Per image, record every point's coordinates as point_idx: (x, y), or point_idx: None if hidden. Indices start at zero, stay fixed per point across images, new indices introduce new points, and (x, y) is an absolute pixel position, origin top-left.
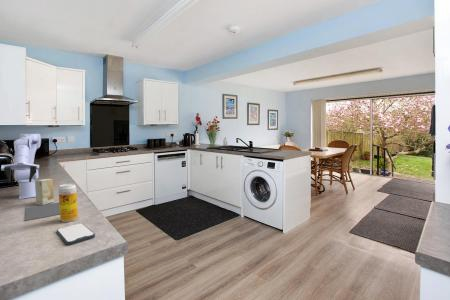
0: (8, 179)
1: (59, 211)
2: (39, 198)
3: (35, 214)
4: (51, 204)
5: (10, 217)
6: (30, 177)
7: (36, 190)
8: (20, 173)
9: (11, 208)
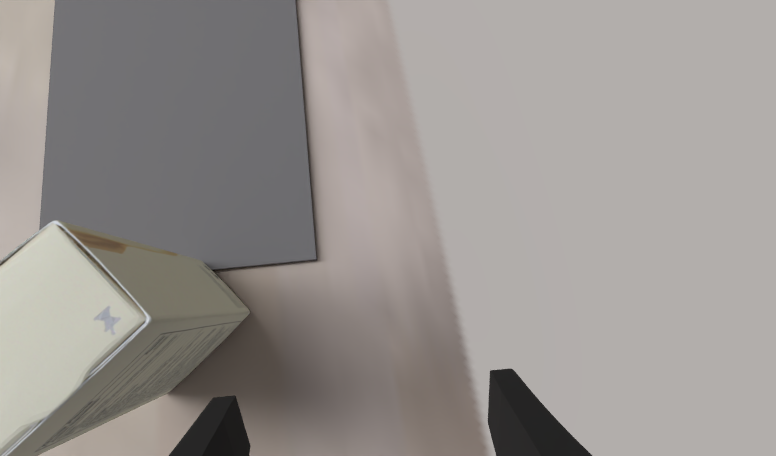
0: (522, 385)
1: (103, 27)
2: (203, 276)
3: (244, 50)
4: None
5: (379, 93)
6: (195, 434)
7: (196, 302)
8: None
9: (418, 327)
